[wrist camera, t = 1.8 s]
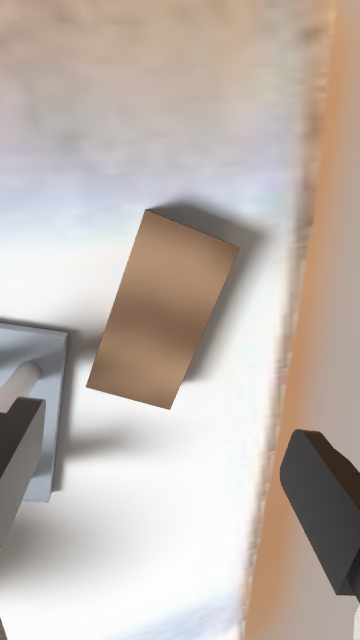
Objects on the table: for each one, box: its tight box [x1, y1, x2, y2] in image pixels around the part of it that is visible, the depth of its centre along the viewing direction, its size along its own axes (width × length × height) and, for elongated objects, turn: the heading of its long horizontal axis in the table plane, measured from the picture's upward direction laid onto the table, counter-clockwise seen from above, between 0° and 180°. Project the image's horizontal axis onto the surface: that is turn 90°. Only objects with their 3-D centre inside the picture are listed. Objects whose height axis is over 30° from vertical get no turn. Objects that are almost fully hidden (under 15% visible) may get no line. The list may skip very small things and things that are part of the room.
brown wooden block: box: [86, 210, 239, 410], centre depth 22 cm, size 12×6×4 cm, turn 159°
